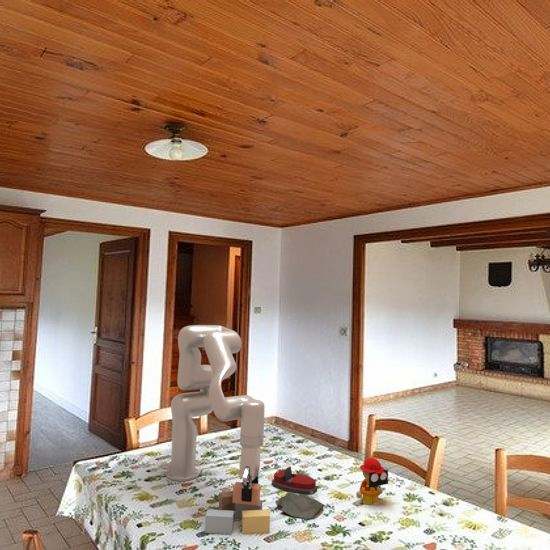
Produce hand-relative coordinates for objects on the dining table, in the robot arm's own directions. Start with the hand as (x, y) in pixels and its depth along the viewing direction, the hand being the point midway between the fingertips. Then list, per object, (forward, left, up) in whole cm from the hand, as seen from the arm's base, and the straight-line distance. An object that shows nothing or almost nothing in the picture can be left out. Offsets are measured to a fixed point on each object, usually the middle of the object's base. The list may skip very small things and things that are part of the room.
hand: (249, 494), depth 142 cm
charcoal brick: (0, 0, -7) cm, 7 cm away
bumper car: (+10, +28, -8) cm, 30 cm away
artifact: (+15, +10, -8) cm, 19 cm away
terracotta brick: (-1, 0, -2) cm, 2 cm away
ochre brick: (+3, -7, -7) cm, 11 cm away
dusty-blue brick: (-7, -9, -7) cm, 14 cm away
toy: (+39, +21, -7) cm, 45 cm away
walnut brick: (-7, +5, -7) cm, 11 cm away
